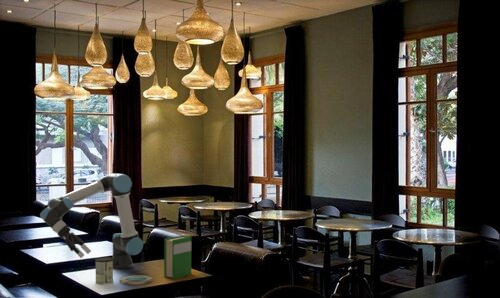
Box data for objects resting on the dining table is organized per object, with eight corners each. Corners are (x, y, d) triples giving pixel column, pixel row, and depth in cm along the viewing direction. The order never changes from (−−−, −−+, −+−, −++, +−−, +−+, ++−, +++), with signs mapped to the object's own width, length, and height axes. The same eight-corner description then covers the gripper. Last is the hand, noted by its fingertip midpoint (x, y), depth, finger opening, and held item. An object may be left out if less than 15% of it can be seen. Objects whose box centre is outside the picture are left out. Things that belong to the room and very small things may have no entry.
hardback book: (173, 279, 343) (173, 240, 343) (164, 277, 347) (164, 239, 347) (191, 273, 358) (191, 236, 358) (182, 272, 362) (182, 235, 362)
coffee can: (99, 280, 340) (99, 256, 340) (115, 280, 338) (115, 257, 339) (92, 284, 329) (92, 260, 329) (109, 284, 328) (109, 260, 328)
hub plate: (115, 280, 339) (115, 277, 339) (144, 276, 350) (144, 273, 350) (127, 286, 324) (127, 283, 324) (157, 282, 334) (157, 279, 334)
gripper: (64, 230, 347) (87, 255, 346) (49, 236, 322) (75, 263, 322) (72, 222, 347) (96, 246, 347) (58, 227, 322) (84, 253, 322)
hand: (86, 254), depth 334 cm, fingers open, 13 cm apart
